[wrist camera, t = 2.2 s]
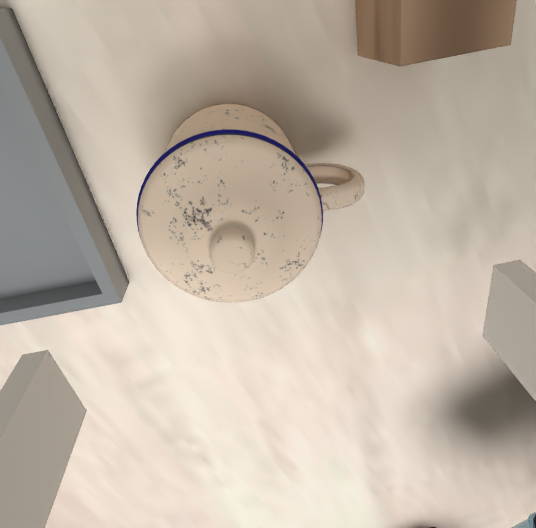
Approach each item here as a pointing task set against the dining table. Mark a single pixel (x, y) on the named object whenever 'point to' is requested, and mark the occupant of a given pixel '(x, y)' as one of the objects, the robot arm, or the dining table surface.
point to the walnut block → (431, 28)
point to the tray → (45, 202)
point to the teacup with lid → (236, 205)
